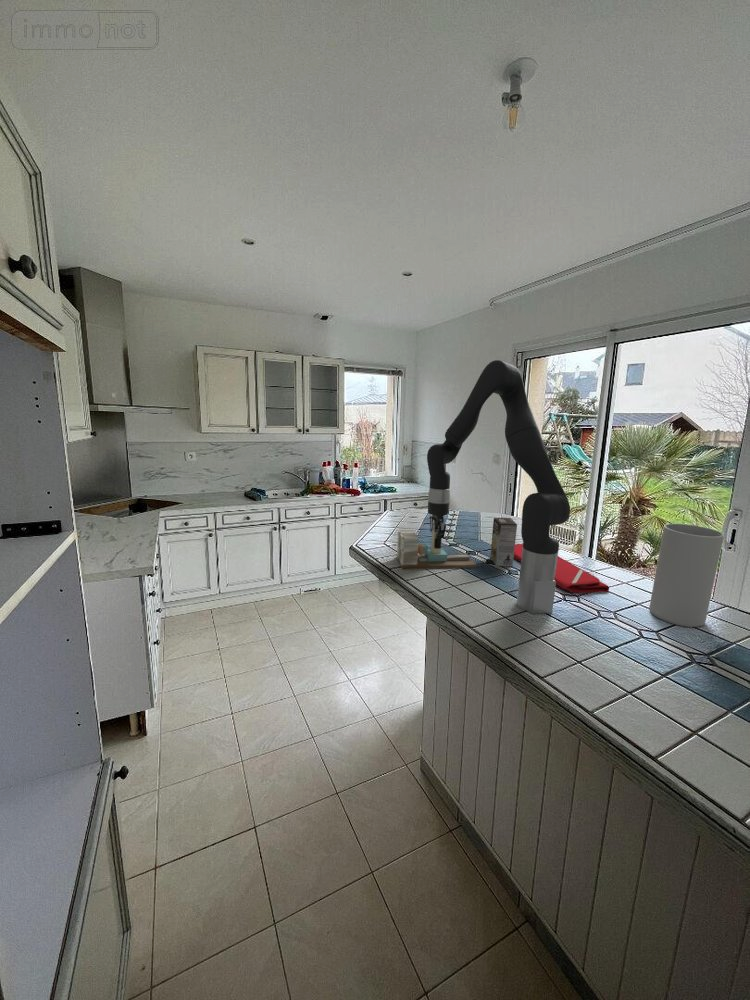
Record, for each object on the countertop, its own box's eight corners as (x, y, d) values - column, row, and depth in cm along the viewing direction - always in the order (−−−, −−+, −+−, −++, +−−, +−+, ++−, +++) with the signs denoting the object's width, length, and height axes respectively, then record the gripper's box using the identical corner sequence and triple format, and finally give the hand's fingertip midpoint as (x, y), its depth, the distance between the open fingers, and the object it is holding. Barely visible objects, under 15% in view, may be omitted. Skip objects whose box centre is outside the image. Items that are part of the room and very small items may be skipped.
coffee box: (489, 557, 154) (493, 517, 151) (506, 557, 154) (510, 517, 151) (495, 566, 145) (499, 523, 142) (513, 566, 145) (518, 524, 142)
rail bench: (476, 567, 143) (479, 538, 141) (402, 569, 140) (403, 539, 138) (465, 555, 155) (467, 528, 153) (396, 557, 152) (397, 529, 149)
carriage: (447, 561, 145) (449, 533, 142) (422, 562, 144) (424, 533, 141) (442, 555, 151) (444, 528, 148) (419, 556, 149) (420, 528, 147)
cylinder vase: (638, 609, 114) (653, 525, 109) (668, 603, 119) (683, 522, 114) (684, 631, 103) (703, 538, 98) (715, 624, 107) (735, 534, 102)
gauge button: (422, 555, 145) (422, 546, 144) (405, 555, 144) (405, 547, 143) (420, 552, 148) (420, 544, 147) (403, 552, 147) (404, 544, 146)
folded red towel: (537, 550, 166) (538, 541, 165) (610, 593, 126) (611, 582, 125) (501, 551, 163) (502, 542, 162) (565, 595, 124) (566, 584, 123)
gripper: (455, 504, 136) (452, 553, 140) (443, 496, 150) (440, 540, 153) (433, 504, 135) (431, 553, 139) (423, 496, 149) (421, 540, 153)
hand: (436, 546), depth 146 cm, fingers closed on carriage, 3 cm apart
